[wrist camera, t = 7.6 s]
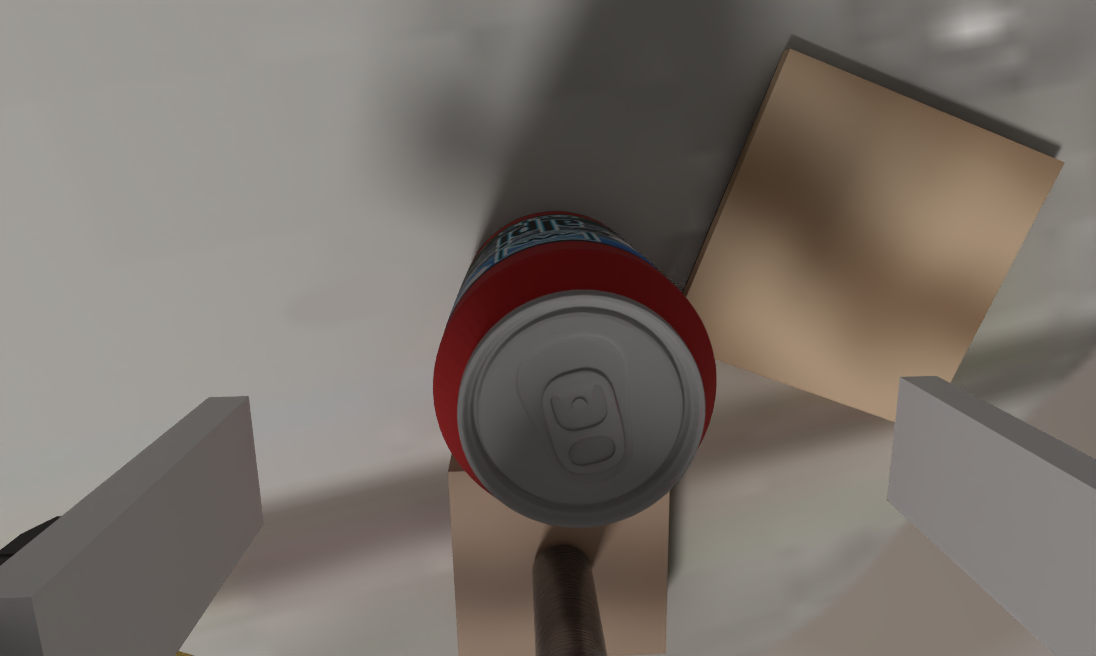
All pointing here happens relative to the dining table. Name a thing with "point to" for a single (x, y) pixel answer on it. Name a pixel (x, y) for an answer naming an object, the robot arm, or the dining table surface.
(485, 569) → the latch housing
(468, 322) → the beverage can
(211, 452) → the robot arm
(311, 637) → the dining table surface
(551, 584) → the t key
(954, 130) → the mat
